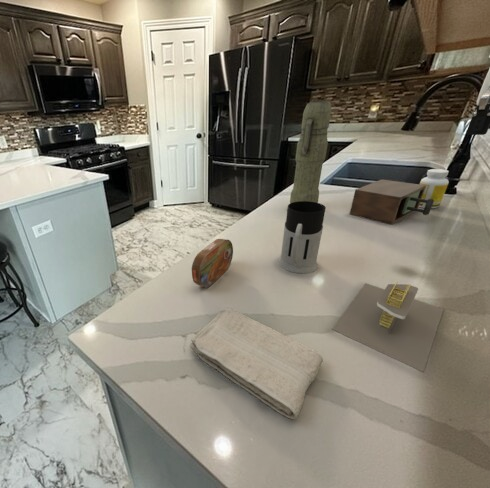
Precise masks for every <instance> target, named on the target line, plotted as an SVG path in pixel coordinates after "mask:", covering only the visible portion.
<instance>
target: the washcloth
mask: <svg viewBox="0 0 490 488" xmlns="http://www.w3.org/2000/svg"><path fill="white" fill-rule="evenodd" d="M190 341H191V343H190V344H189V347H190V348H191V349H192V350H193V351H195V354H196V355H197V357H198V358H199V359H201V361H202V362H204V363H205V364H207V365H208V366H210V367H212V368H213V369H215V370H217V371H218V372H220V373H221V374H222V375H223V376H225V377H226V378H228V379H229V380H230V381H232V382H233V383H234V384H235V385H237V386H239V387H240V388H242V389H243V390H245V391H247V392H248V393H250V394H251V395H252V396H254V397H255V398H257V399H258V400H260V401H261V402H262V403H264V404H265V405H267V406H268V407H270V408H271V409H272V410H274V411H275V412H277V413H279V414H280V415H282V416H284V417H286V418H288V419H291V420H295V419H296V420H297V418H298V416H299V415H300V414H301V410H302V407H303V406H304V401H305V398H306V392H307V391H308V389H309V387H310V385H311V384H312V383H313V382H314V381H315V379H316V377H317V375H318V373H319V371H320V368H321V366H322V364H323V360H324V359H323V356H322V355H321V354H320V353H319V352H318V351H317V350H315V349H312V348H310V347H309V346H307V345H305V344H303V343H301V342H299V341H297V340H294V339H293V338H291V337H289V336H287V335H284V334H283V333H281V332H279V331H277V330H276V329H274V328H271V327H269V326H267V325H266V324H263V323H262V322H259V321H257V320H255V319H252V318H251V317H249V316H246V315H245V314H243V313H241V312H240V311H237V310H235V309H234V308H230V307H227V308H226V309H224V308H223V309H220V310H219V311H218V313H217V315H216V316H215V317H214V318H213V319H212V320H211V321H209V322H208V324H206V325H205V326H203V328H201V329H200V331H199V332H197V333H196V334H195V335H194V336H193V337H192V338H191V339H190Z"/></svg>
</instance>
